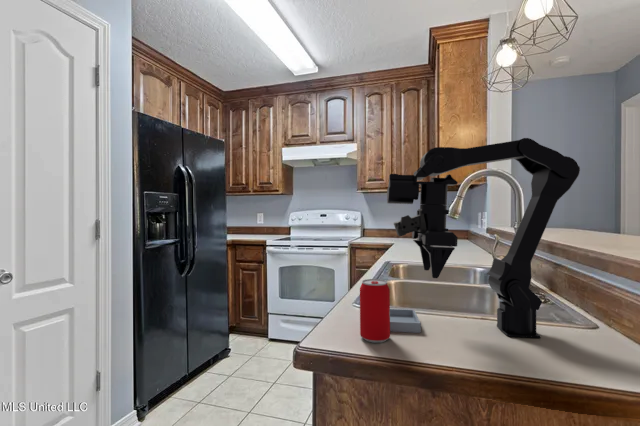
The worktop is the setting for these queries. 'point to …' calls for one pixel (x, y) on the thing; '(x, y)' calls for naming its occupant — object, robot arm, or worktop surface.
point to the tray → (404, 321)
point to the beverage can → (375, 310)
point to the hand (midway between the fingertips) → (430, 273)
